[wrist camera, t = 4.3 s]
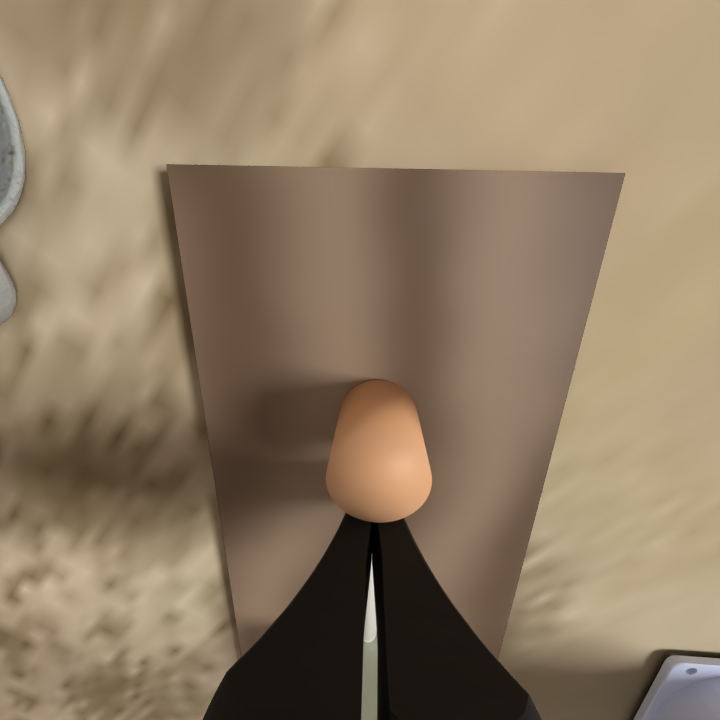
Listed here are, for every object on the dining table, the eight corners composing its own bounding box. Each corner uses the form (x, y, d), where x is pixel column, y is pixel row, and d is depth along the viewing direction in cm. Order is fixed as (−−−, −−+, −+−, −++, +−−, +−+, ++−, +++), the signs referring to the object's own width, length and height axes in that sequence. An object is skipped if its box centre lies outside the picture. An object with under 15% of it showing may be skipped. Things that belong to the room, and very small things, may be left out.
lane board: (606, 177, 10) (688, 156, 7) (464, 756, 21) (476, 830, 19) (181, 169, 11) (116, 146, 8) (260, 740, 22) (244, 809, 19)
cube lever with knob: (452, 383, 12) (488, 452, 8) (411, 693, 18) (421, 815, 14) (308, 377, 12) (276, 442, 8) (317, 686, 18) (301, 805, 14)
